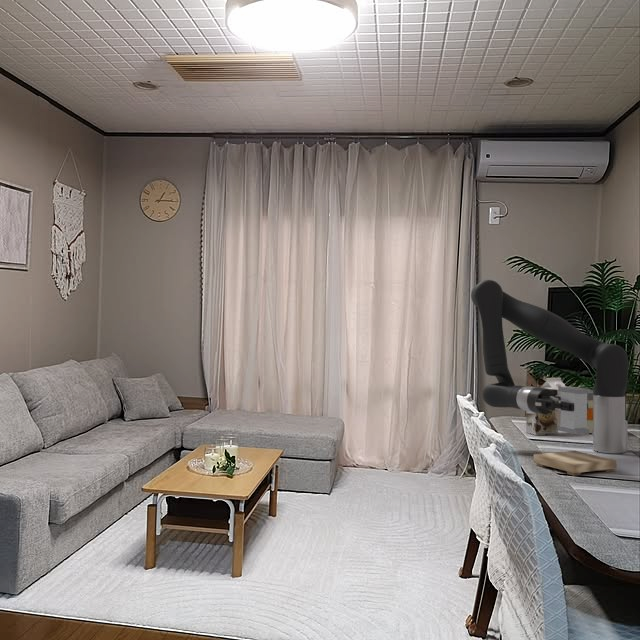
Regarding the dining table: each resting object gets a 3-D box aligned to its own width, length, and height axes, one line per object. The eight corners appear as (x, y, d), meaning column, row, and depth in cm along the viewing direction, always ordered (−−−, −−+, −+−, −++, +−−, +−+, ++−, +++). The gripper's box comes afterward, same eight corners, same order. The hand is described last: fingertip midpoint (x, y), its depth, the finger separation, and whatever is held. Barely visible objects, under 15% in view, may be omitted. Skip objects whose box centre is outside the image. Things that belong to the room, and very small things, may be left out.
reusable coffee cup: (565, 433, 247) (565, 391, 247) (565, 428, 259) (565, 388, 259) (603, 435, 243) (603, 393, 243) (601, 430, 255) (601, 390, 255)
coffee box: (535, 435, 242) (535, 389, 242) (525, 432, 248) (525, 388, 249) (558, 434, 245) (558, 389, 245) (547, 431, 251) (547, 387, 251)
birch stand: (574, 461, 197) (574, 450, 197) (616, 471, 183) (616, 460, 183) (533, 465, 191) (533, 454, 191) (574, 476, 177) (574, 464, 177)
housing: (570, 429, 191) (570, 386, 191) (589, 433, 185) (590, 388, 185) (557, 430, 189) (558, 386, 189) (576, 434, 183) (577, 389, 183)
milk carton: (539, 427, 262) (540, 377, 262) (554, 426, 265) (554, 376, 265) (553, 429, 256) (553, 378, 256) (567, 428, 259) (567, 378, 259)
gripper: (516, 387, 198) (560, 394, 182) (555, 386, 204) (600, 392, 188) (516, 413, 198) (559, 422, 182) (554, 411, 204) (599, 419, 188)
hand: (579, 407), depth 185 cm, fingers closed on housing, 4 cm apart
